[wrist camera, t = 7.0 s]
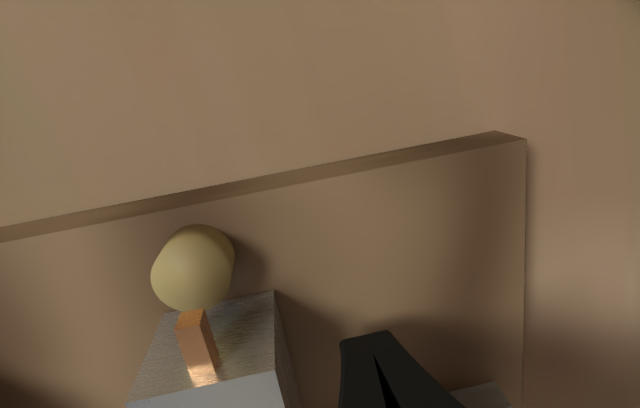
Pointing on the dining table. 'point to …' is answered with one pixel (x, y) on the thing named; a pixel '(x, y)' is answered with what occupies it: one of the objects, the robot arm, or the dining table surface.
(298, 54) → the dining table surface
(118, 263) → the board
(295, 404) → the block
